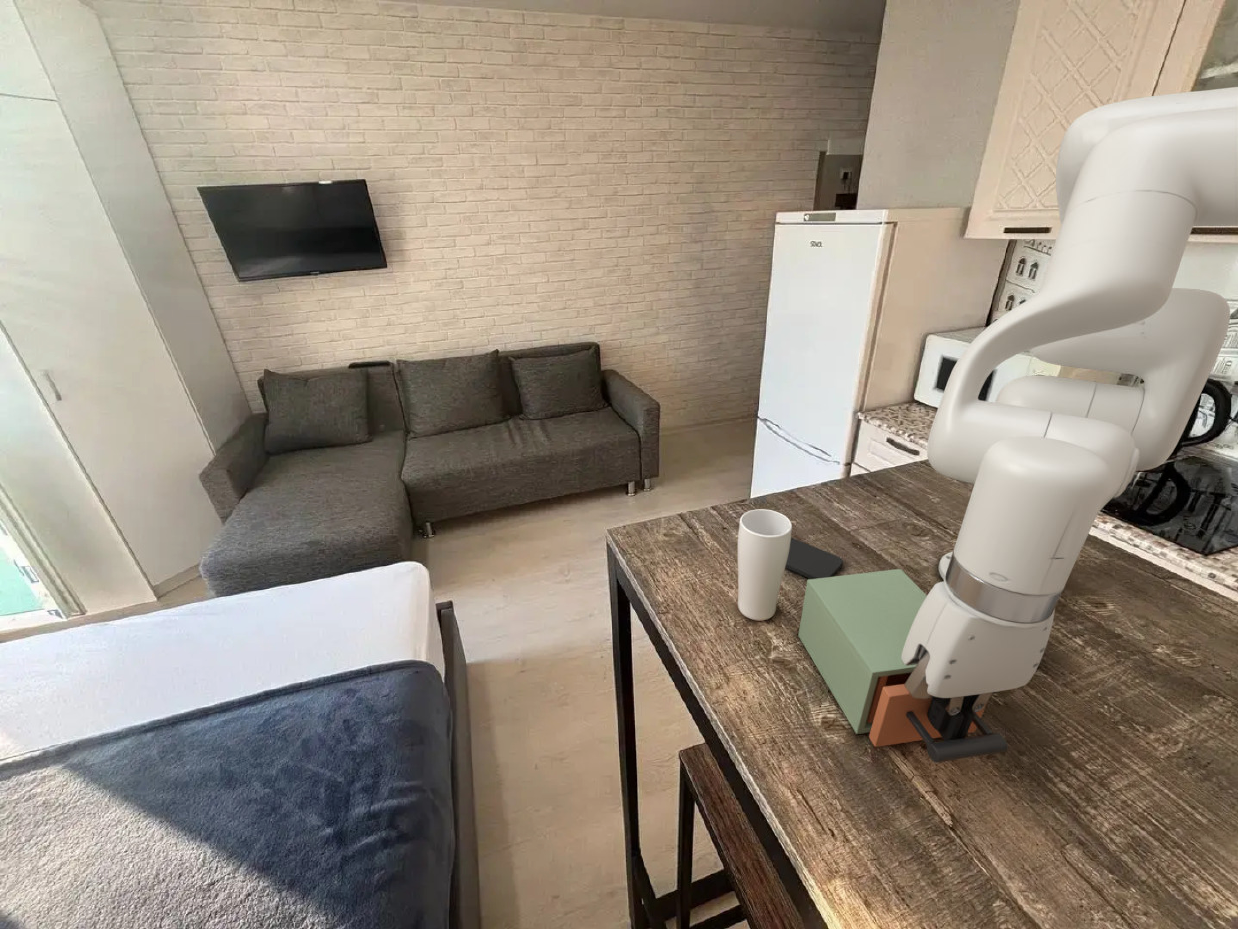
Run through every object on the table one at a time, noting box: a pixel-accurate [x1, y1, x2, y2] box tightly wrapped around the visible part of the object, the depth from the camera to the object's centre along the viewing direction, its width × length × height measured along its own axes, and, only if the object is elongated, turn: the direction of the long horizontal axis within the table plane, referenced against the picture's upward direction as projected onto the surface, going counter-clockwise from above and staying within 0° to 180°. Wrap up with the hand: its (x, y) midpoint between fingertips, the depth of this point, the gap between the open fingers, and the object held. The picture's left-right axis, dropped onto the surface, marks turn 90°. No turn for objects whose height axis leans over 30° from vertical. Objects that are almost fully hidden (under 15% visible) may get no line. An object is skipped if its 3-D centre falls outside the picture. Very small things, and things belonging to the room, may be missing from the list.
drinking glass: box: [736, 508, 793, 622], centre depth 70 cm, size 7×7×15 cm
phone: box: [785, 537, 844, 580], centre depth 84 cm, size 7×1×15 cm
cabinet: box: [797, 568, 928, 735], centre depth 61 cm, size 15×13×10 cm
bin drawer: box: [867, 672, 1009, 764], centre depth 56 cm, size 18×11×8 cm, turn 7°
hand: (944, 728), depth 51 cm, fingers closed
